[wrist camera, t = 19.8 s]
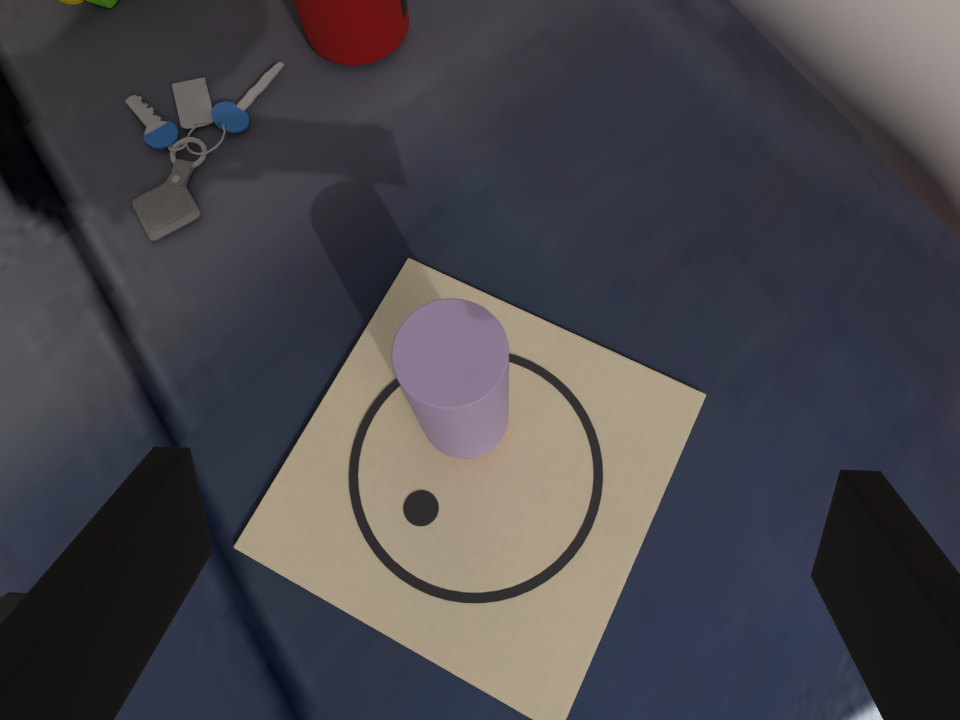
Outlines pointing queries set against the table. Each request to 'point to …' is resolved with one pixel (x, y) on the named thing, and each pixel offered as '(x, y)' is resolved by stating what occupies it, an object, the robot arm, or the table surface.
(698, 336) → the table surface
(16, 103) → the table surface
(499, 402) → the cylinder
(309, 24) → the beverage can
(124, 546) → the robot arm
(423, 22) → the table surface
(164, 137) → the key chain
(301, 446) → the beige square board
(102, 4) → the toy measuring tape
